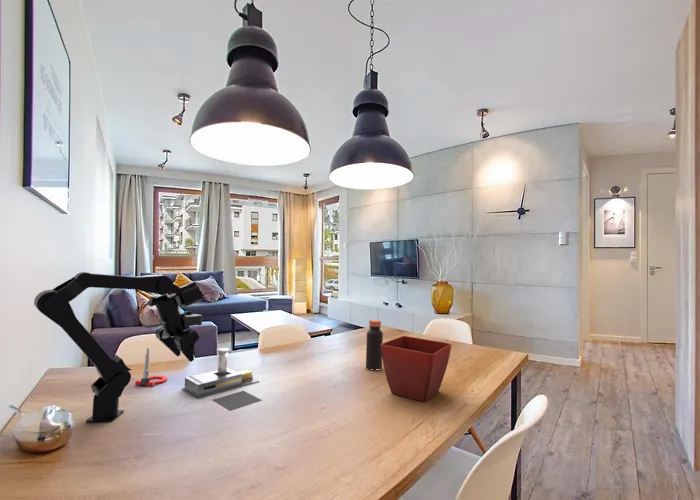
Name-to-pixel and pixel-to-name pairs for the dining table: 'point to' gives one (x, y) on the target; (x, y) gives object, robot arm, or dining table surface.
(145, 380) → the tow hook
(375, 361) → the bottle
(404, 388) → the plant pot
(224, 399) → the rubber mat
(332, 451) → the dining table surface
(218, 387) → the windowed slide housing
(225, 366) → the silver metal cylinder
